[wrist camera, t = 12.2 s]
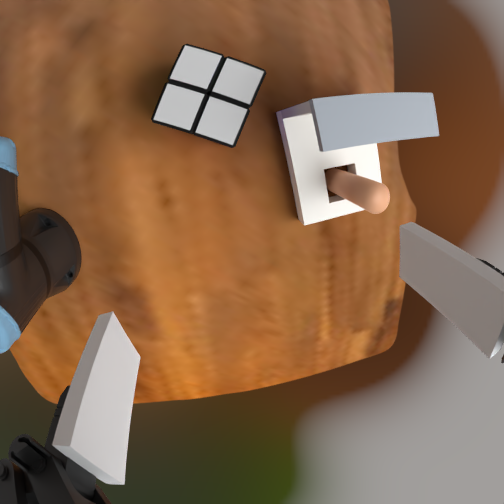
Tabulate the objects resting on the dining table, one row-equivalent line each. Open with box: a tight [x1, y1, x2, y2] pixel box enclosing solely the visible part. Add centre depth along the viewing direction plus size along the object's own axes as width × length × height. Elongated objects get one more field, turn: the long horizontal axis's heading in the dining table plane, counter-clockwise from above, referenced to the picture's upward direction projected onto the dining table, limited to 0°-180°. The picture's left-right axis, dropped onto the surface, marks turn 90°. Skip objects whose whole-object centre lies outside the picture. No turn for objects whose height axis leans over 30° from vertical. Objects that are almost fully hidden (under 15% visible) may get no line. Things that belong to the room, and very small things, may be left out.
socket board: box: [276, 93, 439, 225], centre depth 33 cm, size 15×17×17 cm
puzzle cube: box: [151, 44, 266, 148], centre depth 31 cm, size 10×10×10 cm
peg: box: [325, 168, 390, 214], centre depth 37 cm, size 4×4×13 cm
